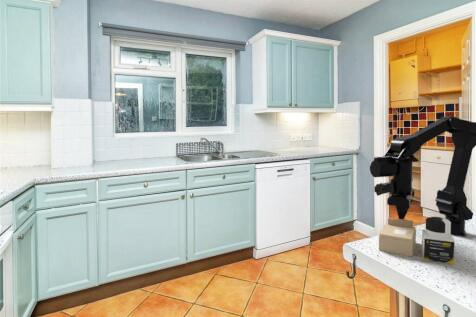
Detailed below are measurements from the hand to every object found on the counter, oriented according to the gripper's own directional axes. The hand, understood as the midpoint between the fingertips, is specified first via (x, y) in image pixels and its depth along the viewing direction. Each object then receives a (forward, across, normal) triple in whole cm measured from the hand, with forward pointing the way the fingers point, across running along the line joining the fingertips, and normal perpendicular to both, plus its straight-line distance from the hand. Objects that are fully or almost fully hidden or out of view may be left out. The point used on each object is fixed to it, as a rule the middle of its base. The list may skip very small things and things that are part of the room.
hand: (401, 220), depth 101 cm
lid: (+1, +8, 0) cm, 9 cm away
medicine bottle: (+7, +11, +11) cm, 17 cm away
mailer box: (+7, +8, 0) cm, 11 cm away
